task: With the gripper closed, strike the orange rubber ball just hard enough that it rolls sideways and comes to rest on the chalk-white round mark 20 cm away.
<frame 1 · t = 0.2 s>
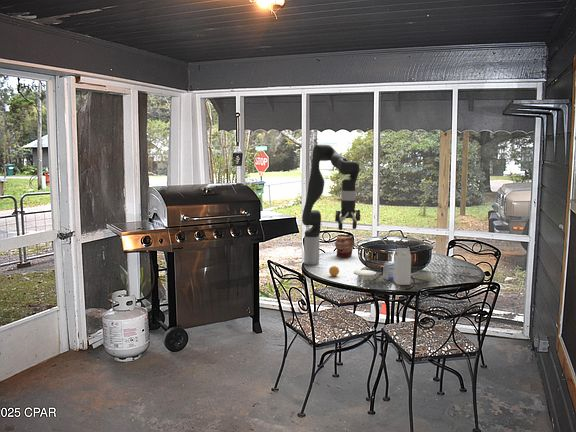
hand: (347, 229, 267), 28 cm above the table, tool pointing down, fingers open, 8 cm apart
milk carton: (401, 283, 268), on the table
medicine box: (390, 279, 277), on the table
decorative planter: (344, 256, 335), on the table
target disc: (364, 272, 289), on the table
ball: (334, 271, 281), on the table
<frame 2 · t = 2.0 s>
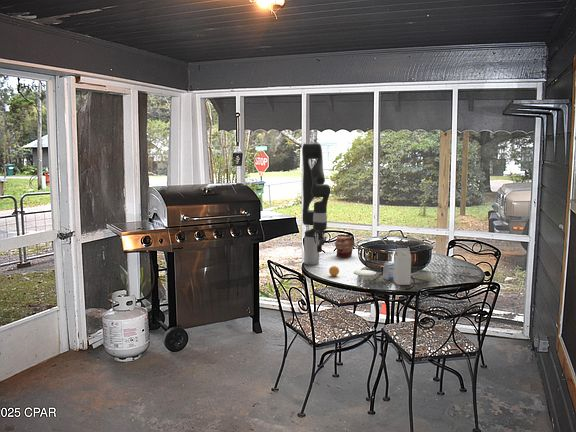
hand: (319, 251, 276), 14 cm above the table, tool pointing down, fingers closed
nothing on the table moved.
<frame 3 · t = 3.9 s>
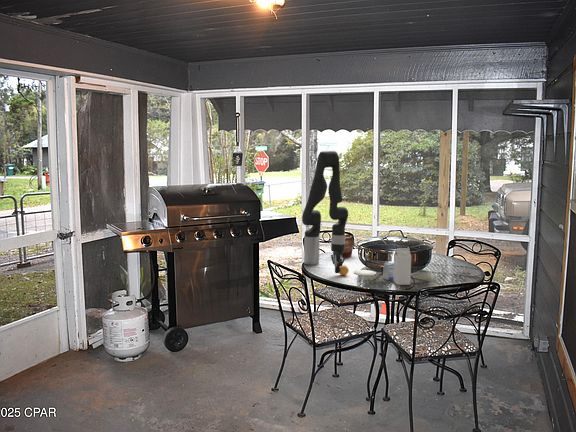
hand: (337, 272, 282), 2 cm above the table, tool pointing down, fingers closed
ball: (343, 270, 283), on the table
everything else where it was.
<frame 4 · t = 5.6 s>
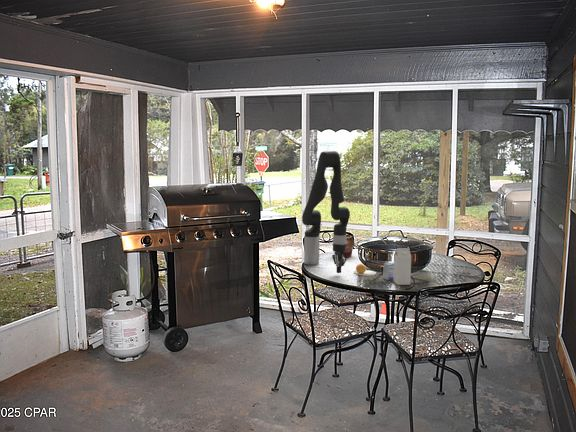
hand: (338, 272, 282), 2 cm above the table, tool pointing down, fingers closed
ball: (360, 268, 287), on the table
everything else where it was.
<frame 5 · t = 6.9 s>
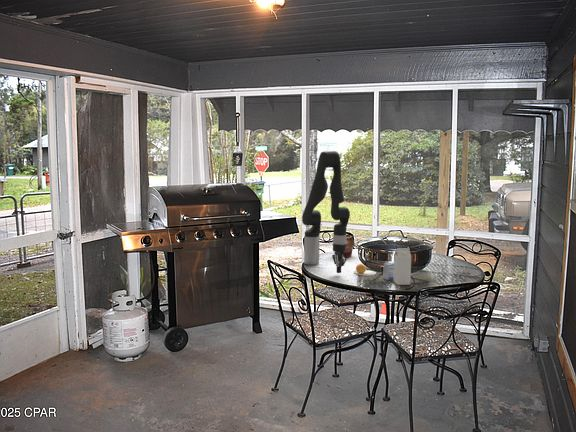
hand: (338, 272, 282), 2 cm above the table, tool pointing down, fingers closed
nothing on the table moved.
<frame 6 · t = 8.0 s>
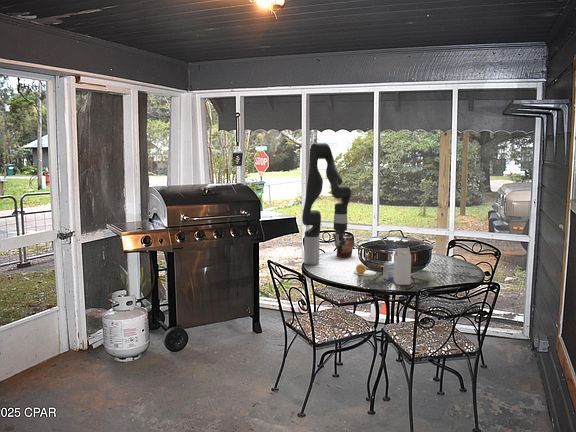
hand: (339, 252, 281), 13 cm above the table, tool pointing down, fingers closed
nothing on the table moved.
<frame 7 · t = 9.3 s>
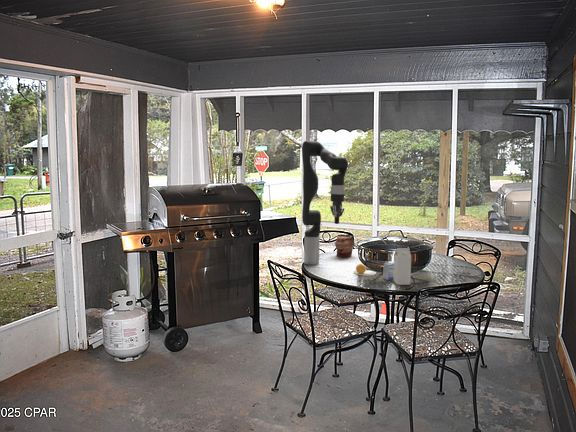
hand: (336, 223, 282), 29 cm above the table, tool pointing down, fingers closed
nothing on the table moved.
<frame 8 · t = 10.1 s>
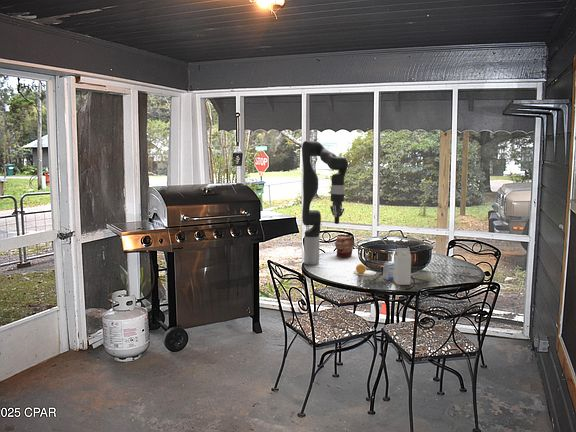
hand: (336, 223, 282), 29 cm above the table, tool pointing down, fingers closed
nothing on the table moved.
at the end: ball 3.1 cm from the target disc (horizontally); ball at rest at the end (0.0 cm/s); ball moved 16.9 cm from its start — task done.
